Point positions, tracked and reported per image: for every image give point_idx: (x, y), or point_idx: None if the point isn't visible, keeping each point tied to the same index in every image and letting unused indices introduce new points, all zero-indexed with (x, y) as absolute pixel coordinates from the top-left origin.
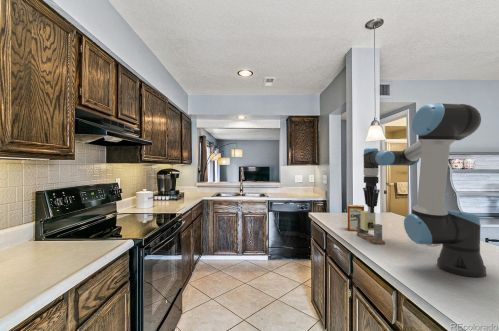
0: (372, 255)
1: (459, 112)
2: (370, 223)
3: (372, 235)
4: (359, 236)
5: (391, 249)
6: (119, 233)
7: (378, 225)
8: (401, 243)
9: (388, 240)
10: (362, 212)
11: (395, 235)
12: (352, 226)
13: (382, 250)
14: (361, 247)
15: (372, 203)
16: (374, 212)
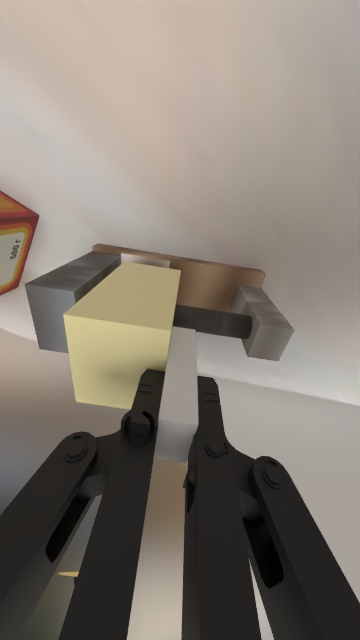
0: (327, 390)
1: None
2: (177, 323)
3: (166, 265)
4: None
5: (326, 298)
6: (77, 576)
7: (282, 349)
8: (294, 165)
9: (220, 199)
10: (114, 401)
11: (127, 7)
12: (3, 276)
13: (314, 337)
14: (254, 375)
15: (268, 549)
16: (167, 338)
